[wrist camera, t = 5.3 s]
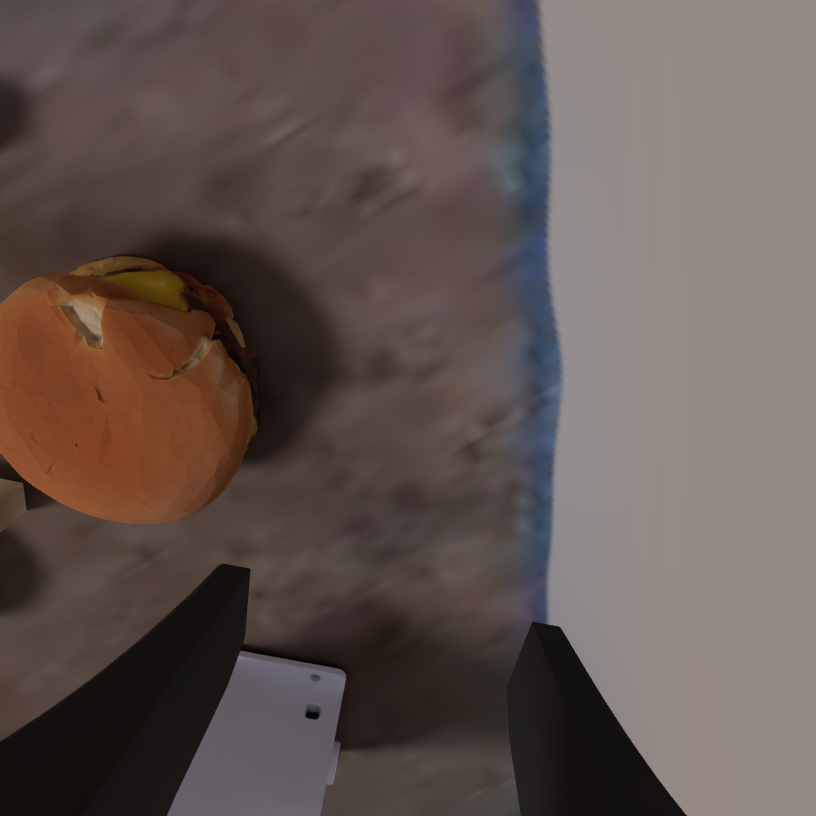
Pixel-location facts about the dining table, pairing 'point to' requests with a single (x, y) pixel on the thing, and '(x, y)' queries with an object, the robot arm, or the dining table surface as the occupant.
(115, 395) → the burger
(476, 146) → the dining table surface
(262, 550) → the dining table surface
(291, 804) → the robot arm
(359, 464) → the dining table surface
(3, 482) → the bay
